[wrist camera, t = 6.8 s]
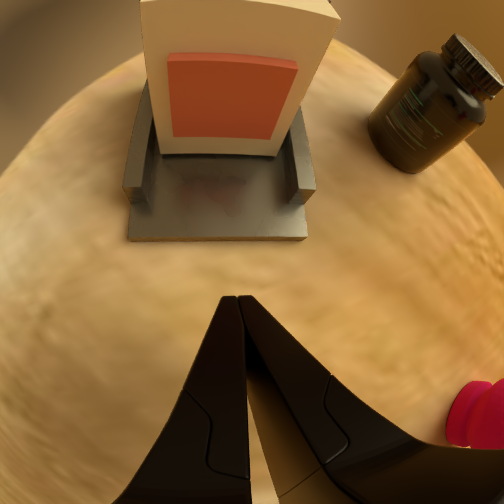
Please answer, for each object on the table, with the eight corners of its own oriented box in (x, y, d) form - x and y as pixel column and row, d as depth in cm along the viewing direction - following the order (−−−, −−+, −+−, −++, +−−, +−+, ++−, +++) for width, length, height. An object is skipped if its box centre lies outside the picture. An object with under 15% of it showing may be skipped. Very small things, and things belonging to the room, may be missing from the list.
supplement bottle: (396, 109, 22) (462, 32, 10) (435, 166, 21) (519, 100, 9) (351, 116, 20) (425, 13, 9) (397, 184, 19) (504, 97, 8)
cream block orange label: (277, 164, 16) (346, 26, 6) (159, 162, 15) (135, 8, 5) (270, 110, 17) (316, -13, 8) (167, 107, 16) (162, -27, 6)
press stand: (303, 240, 16) (411, 148, 7) (131, 241, 15) (50, 132, 5) (280, 88, 19) (320, -12, 10) (156, 83, 18) (149, -25, 8)
